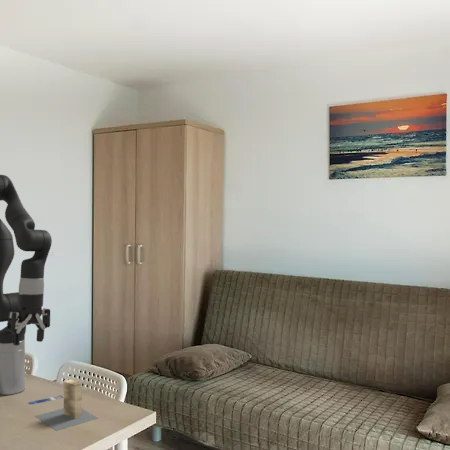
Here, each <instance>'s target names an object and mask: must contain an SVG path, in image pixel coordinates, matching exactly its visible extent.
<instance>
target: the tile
mask: <svg viewBox="0 0 450 450" xmlns="http://www.w3.org/2000/svg"><path fill="white" fill-rule="evenodd" d="M82 385H83V384H82V382H80V381H76V380H73V379H71V378H70V379H66V380H64V381H63V394H64V398H63V408H64V415H67V416H69V417H72V418H74V419H76V418H79V417H81V416H82V409H83V407H82V406H83V405H82V404H83V400H82V395H83V394H82V393H83V391H82V390H83V389H82V388H83V386H82Z"/></svg>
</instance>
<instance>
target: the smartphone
mask: <svg viewBox="0 0 450 450" xmlns="http://www.w3.org/2000/svg"><path fill="white" fill-rule="evenodd" d="M59 399H64V393H62V394H58V395H55V396H51V397H50V396H49V397H45V398H40V399H38V400H33V401H29V402H27V404H28V405H36V404H40V403H45V402H46V403H47V402H51V401H55V400H59Z"/></svg>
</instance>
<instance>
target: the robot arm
mask: <svg viewBox="0 0 450 450" xmlns="http://www.w3.org/2000/svg"><path fill="white" fill-rule="evenodd" d="M2 201H4V203H6V204H7V205H6V208H5V210H4V211H5V212H4V218H5V220H6V222H7V224H8V225H9V227H10V228H11V230H12V231H13V234H12V233H11V231H10V229H9V228H8V226H7V225H6V224H5V223H4V222H3V220H2V219H1V218H0V323H4V322H7V323H6V326H5V327H3V328H2V329H0V395H6V396H9V395H14V394H15V395H16V394H19V393H21V392H23V391H25V389H26V356H25V355H26V348H25V347H26V343H25V341H26V340H25V336H26V332H27V326H29V325H35V326H36V328H37V330H36V342H39V343H41V342H43V341H44V339H45V329H47V328H50V327H51V309H50V308H44V307H43V306H44V292H45V279H44V278H45V266H46V261H47V259H48V256H49V253H50V250H51V247H52V242H53V241H52V236H51V233H49V231H48V230H45V229H35V228H36V223H35V221H34V219H33V218H32V216H31V215H30V213H28V211H27V210H26V208H25V207H24V205H23V203H22V202H21V199H20V197H19V194H18V191H17V190H16V187H15V186H14V183H13V181H12V180H11V178H10V177H9V176H7V175H6V174H0V202H2ZM13 235H14V237H15V243H16V246H17V247H18V249H20V250H21V251H23V252H34V253H33V255H32V257H30V258H26V259H23V260H22V261H21V264H20V266H21V267H20V277H19V282H18V283H19V284H18V292H9V293H4V279H5V278H6V277H5V276H6V274H7V272H8V270H9V268H10V267H11V264H12V262H13V259H14V257H15V245H14V239H13ZM42 307H43V308H42ZM41 316H42V317H41Z"/></svg>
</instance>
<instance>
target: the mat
mask: <svg viewBox="0 0 450 450" xmlns="http://www.w3.org/2000/svg"><path fill="white" fill-rule="evenodd" d="M35 417H36V418H37V419H39V420H40V421H41V422H42V423H43V424H45V425H47V426H49V427H50V428H51V429H52V430H54V431H56V432H57V431H61V430H65V429H67V428H71V427H74V426H77V425H80V424H83V423H88V422H91V421H94V420H98V419H99V417H97V416H96V415H93V414H92V413H90V412H88V411H87V410H85V409H84V408H82V416H81V417H79V418H76V419H74V418H72V417H69V416H67V415H64V407H63V408H61V409H59V408H58V409H57V410H56V409H55V410H53V411H48V412H44V413H41V414H38V415H35Z"/></svg>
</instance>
